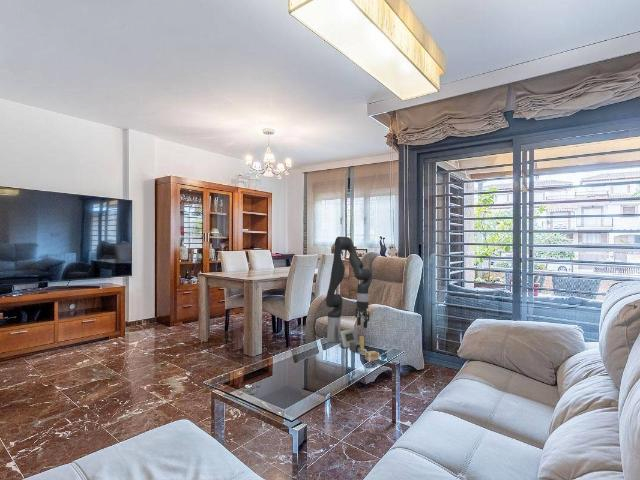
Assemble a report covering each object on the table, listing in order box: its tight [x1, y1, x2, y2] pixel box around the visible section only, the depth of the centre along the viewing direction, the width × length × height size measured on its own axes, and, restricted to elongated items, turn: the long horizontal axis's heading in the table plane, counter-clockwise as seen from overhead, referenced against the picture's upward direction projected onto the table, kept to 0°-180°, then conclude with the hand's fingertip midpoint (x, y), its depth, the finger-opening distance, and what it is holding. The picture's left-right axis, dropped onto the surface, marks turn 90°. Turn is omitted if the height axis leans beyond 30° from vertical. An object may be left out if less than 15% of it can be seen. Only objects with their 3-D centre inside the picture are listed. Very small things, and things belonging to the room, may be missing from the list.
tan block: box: [364, 350, 380, 362], centre depth 212 cm, size 5×7×4 cm
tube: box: [356, 335, 368, 356], centre depth 229 cm, size 18×3×10 cm, turn 21°
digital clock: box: [339, 328, 359, 349], centre depth 244 cm, size 16×9×11 cm, turn 126°
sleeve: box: [349, 341, 359, 353], centre depth 231 cm, size 7×6×5 cm
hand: (362, 326), depth 225 cm, fingers open, 8 cm apart
